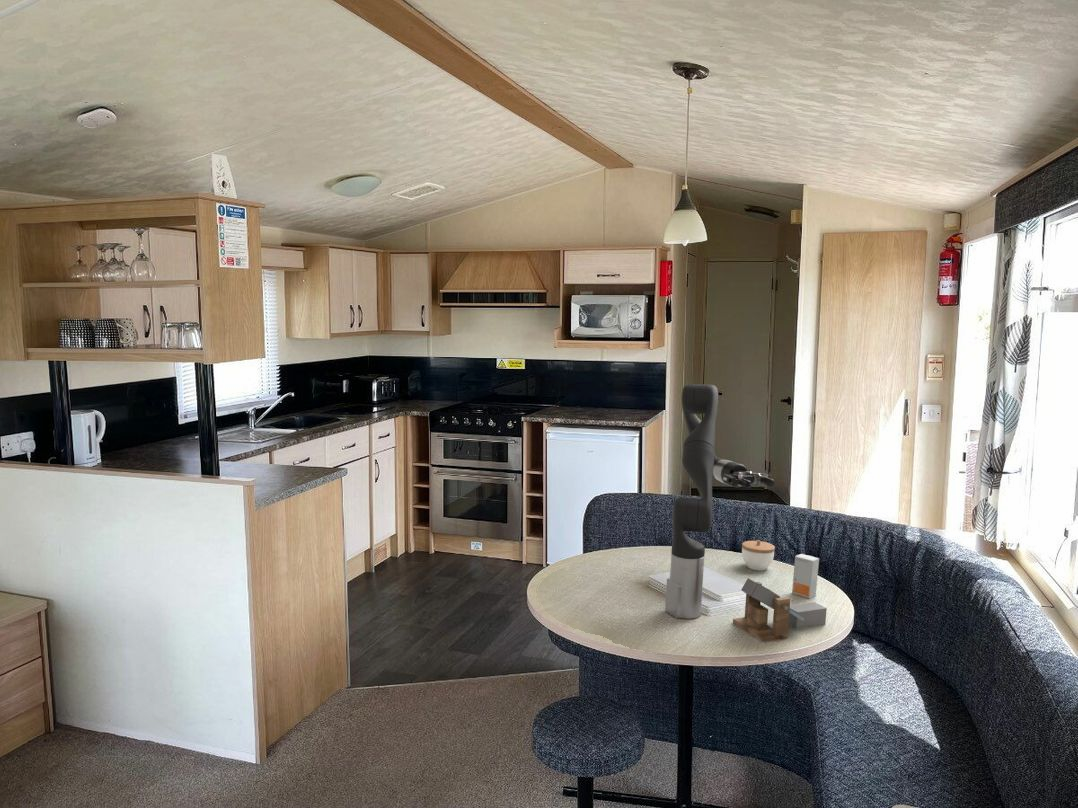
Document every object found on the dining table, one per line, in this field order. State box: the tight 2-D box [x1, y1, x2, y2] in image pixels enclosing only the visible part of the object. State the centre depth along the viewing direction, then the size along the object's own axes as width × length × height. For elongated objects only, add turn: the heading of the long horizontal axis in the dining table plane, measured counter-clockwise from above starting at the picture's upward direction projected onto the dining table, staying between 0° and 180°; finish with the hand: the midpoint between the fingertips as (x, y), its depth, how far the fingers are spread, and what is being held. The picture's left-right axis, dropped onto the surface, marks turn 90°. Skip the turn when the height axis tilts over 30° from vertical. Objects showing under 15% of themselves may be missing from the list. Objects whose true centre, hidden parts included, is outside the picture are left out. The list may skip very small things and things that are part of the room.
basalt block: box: [788, 601, 827, 630], centre depth 227 cm, size 5×5×10 cm
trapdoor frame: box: [732, 581, 791, 643], centre depth 221 cm, size 16×8×11 cm, turn 22°
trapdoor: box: [740, 577, 805, 621], centre depth 222 cm, size 10×15×4 cm
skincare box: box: [791, 553, 820, 599], centre depth 250 cm, size 6×4×12 cm
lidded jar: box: [741, 539, 776, 571], centre depth 275 cm, size 11×11×9 cm
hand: (761, 484), depth 247 cm, fingers open, 8 cm apart
